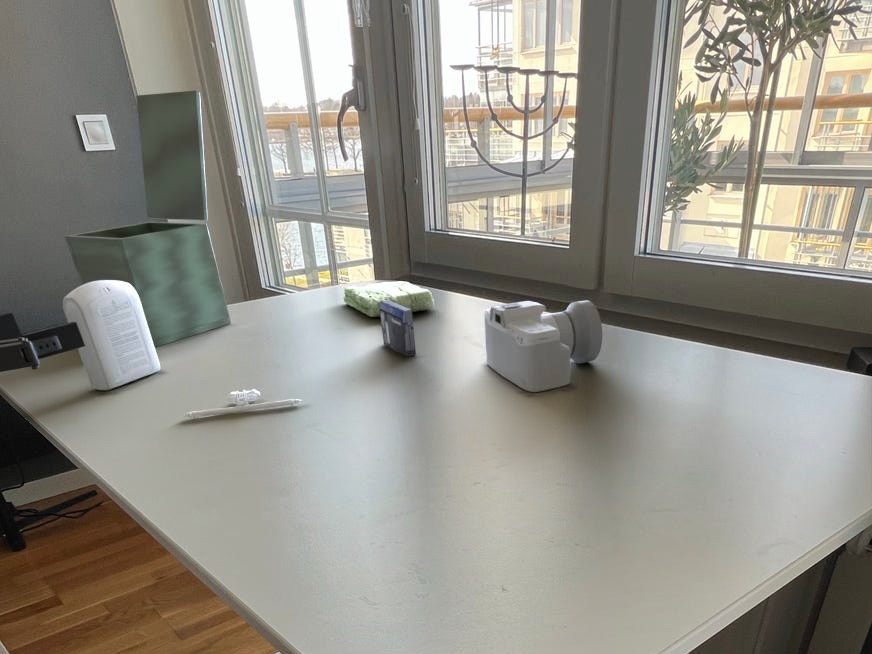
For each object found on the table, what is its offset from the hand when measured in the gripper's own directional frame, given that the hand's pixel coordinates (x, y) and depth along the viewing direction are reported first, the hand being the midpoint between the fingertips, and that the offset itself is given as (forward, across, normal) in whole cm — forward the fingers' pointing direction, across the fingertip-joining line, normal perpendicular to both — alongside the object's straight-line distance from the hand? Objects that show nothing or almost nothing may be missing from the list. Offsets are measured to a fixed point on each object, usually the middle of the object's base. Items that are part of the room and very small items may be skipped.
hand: (46, 328), depth 86 cm
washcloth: (+57, +8, -9) cm, 59 cm away
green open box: (+29, -18, -8) cm, 35 cm away
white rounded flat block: (+8, 0, -9) cm, 12 cm away
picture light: (+7, +24, -9) cm, 27 cm away
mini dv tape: (+35, +27, -9) cm, 45 cm away
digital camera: (+34, +52, -9) cm, 63 cm away
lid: (+39, -18, +15) cm, 46 cm away
